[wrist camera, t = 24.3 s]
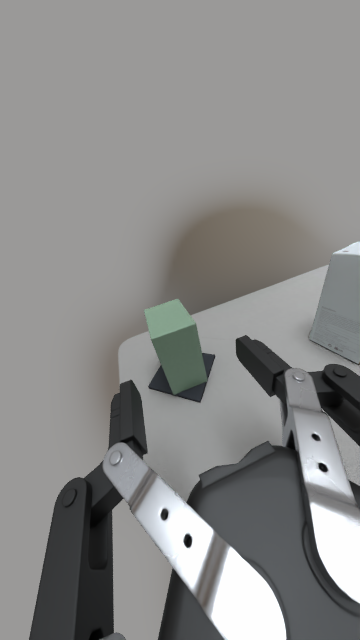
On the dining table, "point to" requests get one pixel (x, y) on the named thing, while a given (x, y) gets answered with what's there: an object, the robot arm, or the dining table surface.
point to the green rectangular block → (176, 345)
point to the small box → (340, 305)
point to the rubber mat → (193, 393)
